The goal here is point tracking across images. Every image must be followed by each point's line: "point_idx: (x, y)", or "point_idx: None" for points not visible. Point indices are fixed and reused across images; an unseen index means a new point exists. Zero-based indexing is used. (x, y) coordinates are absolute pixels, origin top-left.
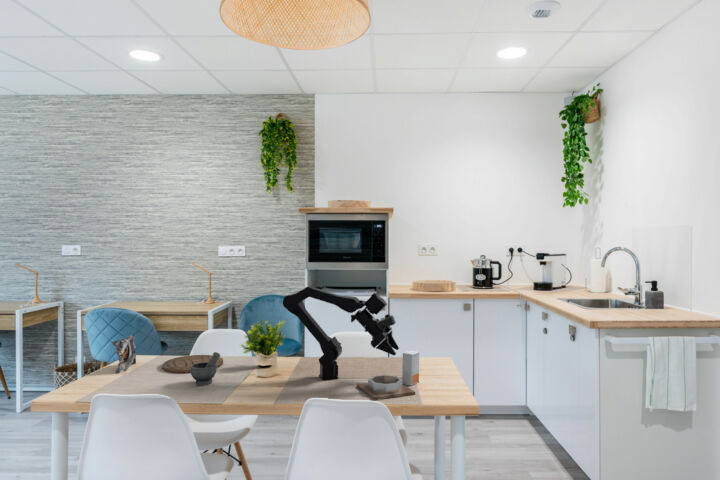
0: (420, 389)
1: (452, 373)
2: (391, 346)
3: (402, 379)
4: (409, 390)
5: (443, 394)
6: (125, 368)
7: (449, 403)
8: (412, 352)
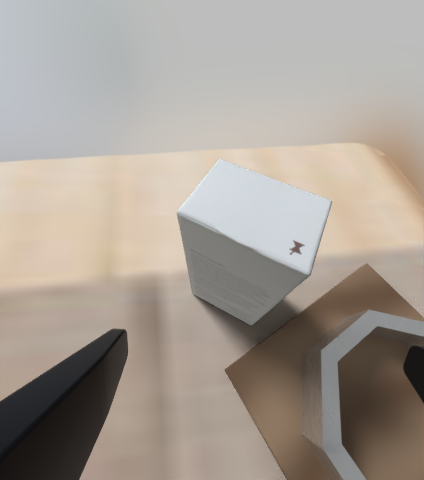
0: None
1: (94, 159)
2: (77, 472)
3: (256, 321)
4: (364, 285)
5: (317, 189)
6: None
7: (385, 180)
8: (259, 196)
